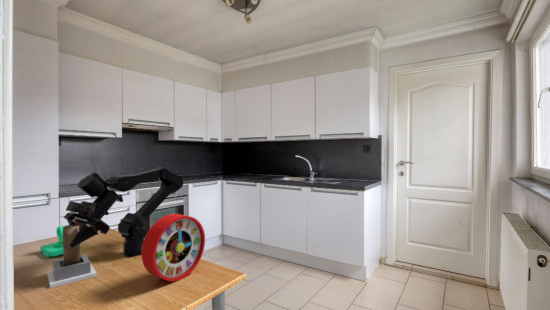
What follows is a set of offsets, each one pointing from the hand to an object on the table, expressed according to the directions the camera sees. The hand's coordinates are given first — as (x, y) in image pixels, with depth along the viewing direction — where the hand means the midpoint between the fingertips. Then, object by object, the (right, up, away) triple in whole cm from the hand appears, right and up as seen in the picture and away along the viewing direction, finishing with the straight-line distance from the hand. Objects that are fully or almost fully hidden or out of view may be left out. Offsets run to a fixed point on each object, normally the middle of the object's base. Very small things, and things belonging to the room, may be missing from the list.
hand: (66, 245), depth 92 cm
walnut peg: (+1, -7, +1) cm, 7 cm away
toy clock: (+35, -11, +1) cm, 36 cm away
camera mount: (-19, -10, +21) cm, 30 cm away
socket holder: (+1, -10, +1) cm, 10 cm away
